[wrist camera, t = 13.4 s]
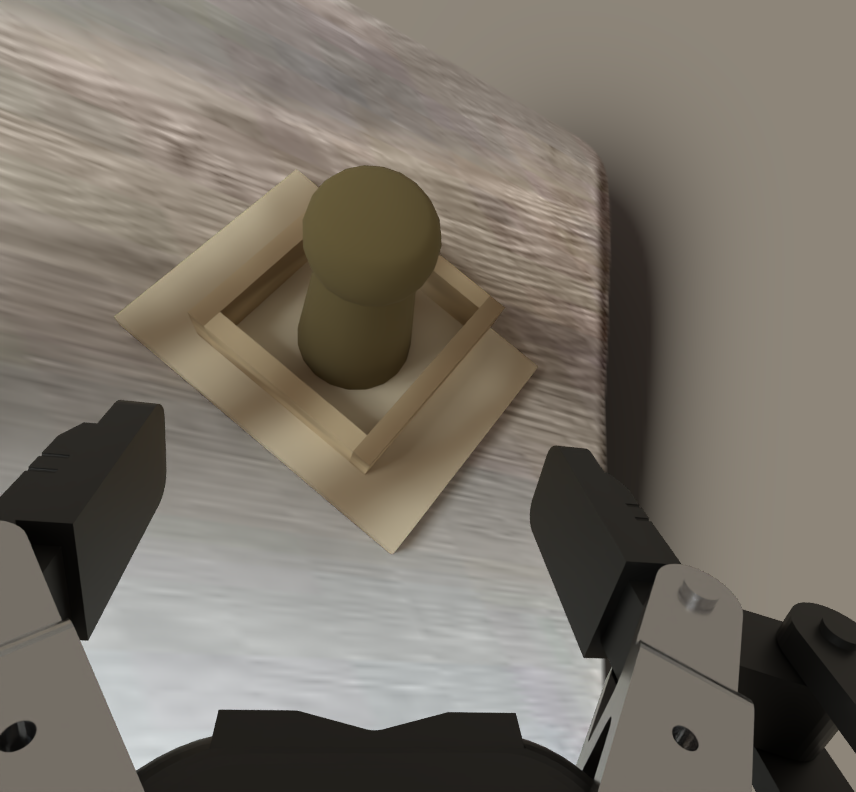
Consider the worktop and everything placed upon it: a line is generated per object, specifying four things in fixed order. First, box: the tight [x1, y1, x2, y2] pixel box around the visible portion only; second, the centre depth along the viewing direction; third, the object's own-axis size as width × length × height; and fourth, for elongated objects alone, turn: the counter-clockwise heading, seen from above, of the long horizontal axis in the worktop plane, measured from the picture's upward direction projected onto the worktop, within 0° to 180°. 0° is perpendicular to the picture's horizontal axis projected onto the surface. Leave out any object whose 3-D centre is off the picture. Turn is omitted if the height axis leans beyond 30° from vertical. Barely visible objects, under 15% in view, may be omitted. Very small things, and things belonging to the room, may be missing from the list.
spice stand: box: [114, 169, 538, 554], centre depth 28 cm, size 18×13×4 cm
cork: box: [298, 165, 441, 390], centre depth 24 cm, size 6×6×11 cm
